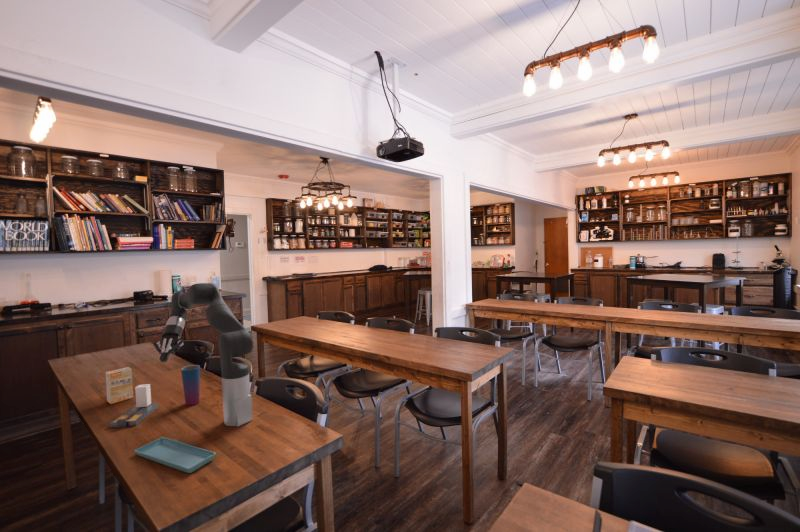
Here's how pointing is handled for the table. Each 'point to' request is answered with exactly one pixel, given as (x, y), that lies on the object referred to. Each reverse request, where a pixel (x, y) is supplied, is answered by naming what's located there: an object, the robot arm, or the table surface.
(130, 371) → the supplement box
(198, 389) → the cup
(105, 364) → the table surface
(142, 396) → the fader knob
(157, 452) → the rectangular tray
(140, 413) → the console
